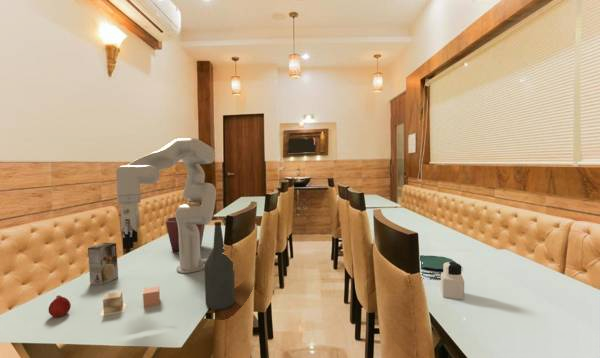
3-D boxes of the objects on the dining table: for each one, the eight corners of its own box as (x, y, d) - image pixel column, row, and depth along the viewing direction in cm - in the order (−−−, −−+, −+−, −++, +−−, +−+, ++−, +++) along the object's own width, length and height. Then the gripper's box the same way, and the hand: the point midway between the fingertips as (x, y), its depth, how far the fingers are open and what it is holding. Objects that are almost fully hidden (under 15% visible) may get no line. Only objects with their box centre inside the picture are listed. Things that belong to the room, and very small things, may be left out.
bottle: (211, 297, 118) (208, 219, 116) (237, 297, 118) (234, 219, 116) (202, 310, 108) (199, 225, 106) (230, 310, 107) (227, 224, 106)
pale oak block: (122, 305, 111) (122, 291, 111) (120, 311, 106) (120, 296, 106) (106, 307, 109) (105, 293, 109) (103, 314, 104) (102, 299, 104)
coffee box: (106, 276, 143) (104, 242, 142) (118, 277, 141) (116, 242, 140) (89, 284, 134) (87, 247, 133) (102, 285, 132) (100, 248, 131)
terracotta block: (159, 302, 115) (159, 286, 115) (159, 307, 111) (158, 291, 110) (144, 304, 114) (144, 288, 113) (143, 310, 109) (143, 293, 109)
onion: (57, 314, 107) (56, 291, 107) (75, 313, 107) (73, 290, 107) (45, 323, 101) (43, 299, 101) (63, 322, 102) (62, 298, 101)
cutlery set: (453, 260, 156) (453, 256, 156) (464, 284, 128) (464, 278, 128) (411, 258, 163) (411, 253, 163) (413, 279, 134) (413, 274, 134)
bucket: (196, 254, 174) (194, 210, 173) (157, 255, 175) (155, 211, 173) (209, 243, 199) (208, 204, 197) (175, 244, 199) (173, 205, 198)
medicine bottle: (461, 292, 119) (461, 261, 118) (464, 300, 112) (464, 267, 111) (440, 290, 121) (440, 259, 120) (442, 297, 114) (442, 265, 114)
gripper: (136, 201, 108) (138, 249, 108) (143, 196, 124) (144, 239, 125) (112, 202, 105) (114, 252, 106) (122, 197, 121) (123, 241, 122)
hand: (130, 245), depth 115 cm, fingers open, 9 cm apart
